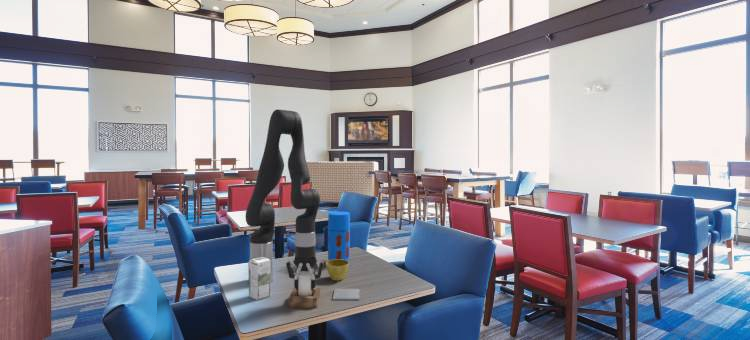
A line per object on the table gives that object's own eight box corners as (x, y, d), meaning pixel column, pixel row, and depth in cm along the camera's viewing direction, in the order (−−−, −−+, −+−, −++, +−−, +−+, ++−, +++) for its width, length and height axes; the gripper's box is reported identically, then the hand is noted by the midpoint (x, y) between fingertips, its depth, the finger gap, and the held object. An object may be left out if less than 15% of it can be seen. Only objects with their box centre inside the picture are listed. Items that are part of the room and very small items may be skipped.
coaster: (332, 300, 142) (332, 298, 142) (334, 290, 152) (334, 288, 152) (359, 300, 142) (359, 298, 142) (359, 290, 152) (359, 288, 152)
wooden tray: (288, 307, 134) (288, 297, 134) (293, 296, 144) (294, 287, 144) (316, 307, 135) (316, 298, 135) (320, 296, 145) (320, 287, 144)
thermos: (353, 261, 191) (354, 212, 190) (341, 267, 182) (341, 215, 181) (336, 258, 197) (337, 210, 196) (323, 263, 188) (323, 213, 187)
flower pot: (340, 284, 159) (340, 267, 159) (321, 279, 164) (321, 263, 163) (353, 277, 168) (353, 261, 167) (334, 273, 173) (334, 258, 172)
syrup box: (261, 292, 148) (261, 256, 147) (270, 296, 144) (270, 259, 144) (248, 296, 144) (248, 259, 143) (257, 300, 140) (257, 262, 139)
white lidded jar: (296, 304, 137) (296, 272, 136) (298, 299, 142) (299, 267, 142) (311, 304, 137) (311, 272, 136) (313, 299, 142) (313, 267, 142)
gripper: (283, 245, 135) (283, 292, 135) (323, 246, 135) (323, 293, 136) (287, 241, 142) (287, 285, 143) (326, 241, 142) (325, 285, 143)
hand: (305, 288), depth 139 cm, fingers closed on white lidded jar, 5 cm apart
